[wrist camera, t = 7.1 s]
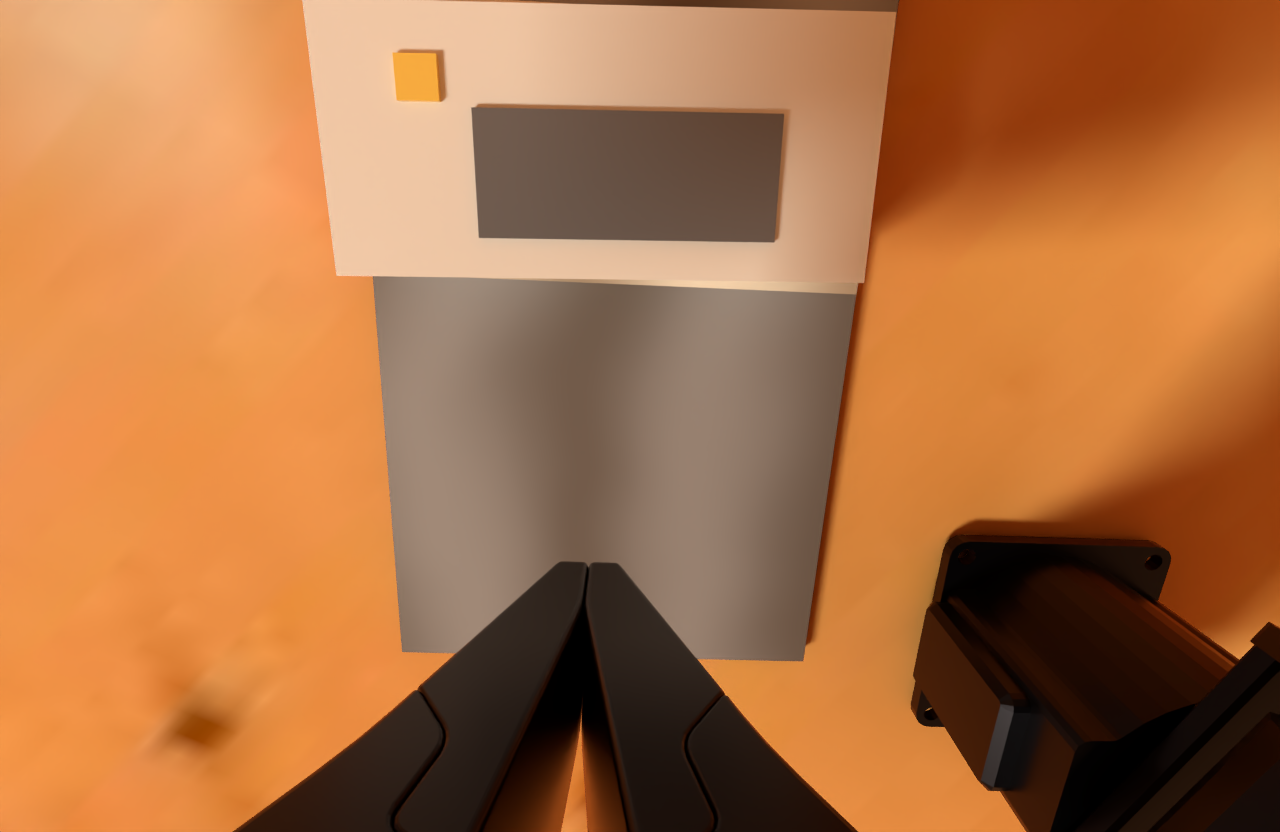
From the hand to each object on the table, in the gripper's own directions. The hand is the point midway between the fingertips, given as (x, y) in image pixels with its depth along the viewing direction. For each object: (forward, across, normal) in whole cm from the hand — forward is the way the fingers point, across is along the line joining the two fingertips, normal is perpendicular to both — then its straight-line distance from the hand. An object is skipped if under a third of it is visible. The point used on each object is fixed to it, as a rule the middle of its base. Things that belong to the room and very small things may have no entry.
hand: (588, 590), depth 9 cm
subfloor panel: (+9, 0, -2) cm, 9 cm away
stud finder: (+8, 0, -6) cm, 10 cm away
